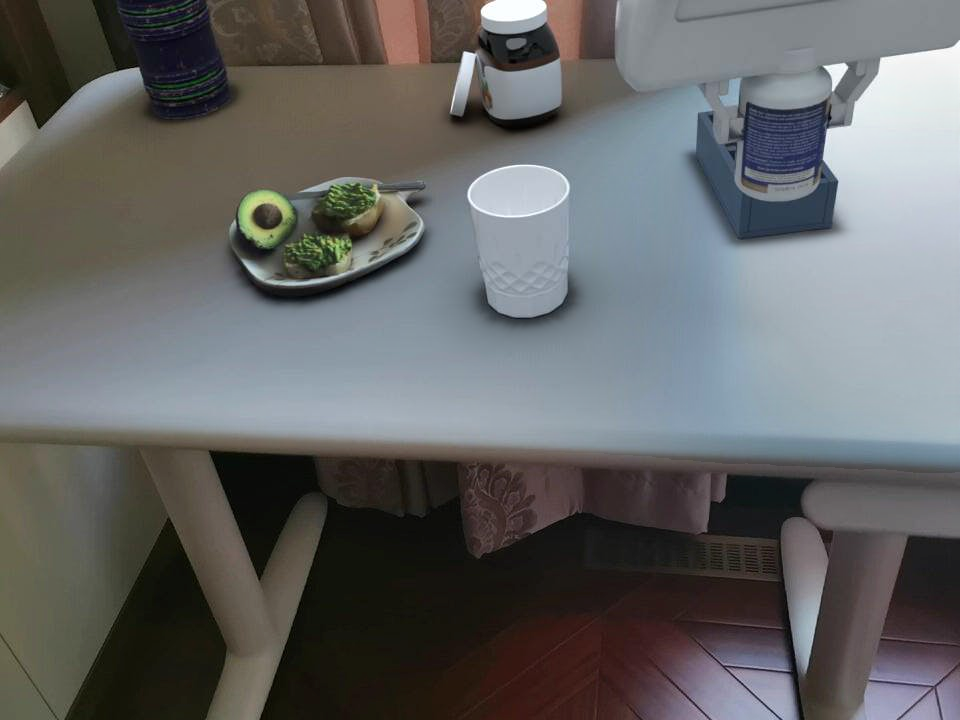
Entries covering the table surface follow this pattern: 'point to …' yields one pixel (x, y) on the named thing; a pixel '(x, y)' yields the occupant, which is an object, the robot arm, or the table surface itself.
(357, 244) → the avocado toast plate
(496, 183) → the white cup
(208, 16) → the storage jar
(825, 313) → the table surface
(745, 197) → the divided storage box
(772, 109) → the pill bottle
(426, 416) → the table surface
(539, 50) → the spread jar
